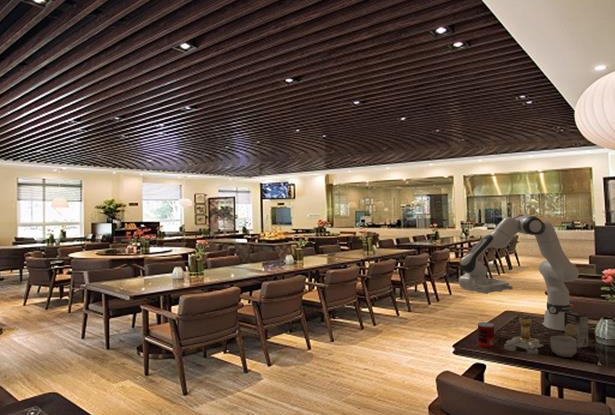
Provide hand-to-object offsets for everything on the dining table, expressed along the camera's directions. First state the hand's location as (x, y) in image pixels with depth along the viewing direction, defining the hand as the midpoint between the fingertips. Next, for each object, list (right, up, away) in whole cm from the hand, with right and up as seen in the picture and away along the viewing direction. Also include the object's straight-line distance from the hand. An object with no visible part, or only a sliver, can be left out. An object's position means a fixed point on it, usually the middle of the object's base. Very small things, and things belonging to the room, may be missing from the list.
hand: (506, 289), depth 231 cm
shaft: (+1, -26, -23) cm, 35 cm away
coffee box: (+30, -26, -12) cm, 42 cm away
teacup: (+15, -26, -27) cm, 41 cm away
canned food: (-17, -27, -13) cm, 34 cm away
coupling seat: (0, -26, -15) cm, 30 cm away
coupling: (+4, -26, -13) cm, 29 cm away
